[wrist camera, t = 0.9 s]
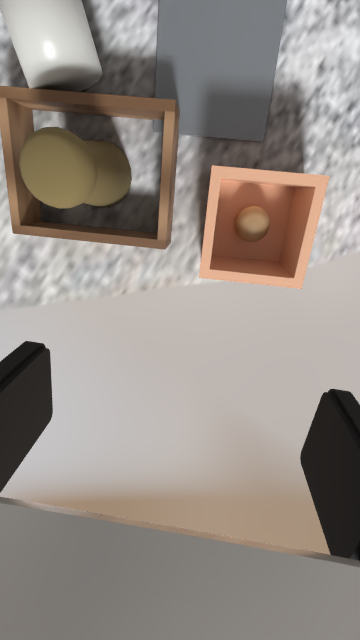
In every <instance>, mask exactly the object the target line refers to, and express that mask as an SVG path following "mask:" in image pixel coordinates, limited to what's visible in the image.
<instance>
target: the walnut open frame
mask: <svg viewBox="0 0 360 640" xmlns="http://www.w3.org/2000/svg"><path fill="white" fill-rule="evenodd" d="M32 110H44V111H56V112H68V113H80V114H92V115H104V116H115V117H127V118H139V119H151V120H154V119H161V120H164V133H163V150H162V168H161V185H160V202H159V220H158V233H149V232H140V231H130V230H120V229H110V228H101V227H91V226H81V225H72V224H62V223H52V222H42V221H41V211H40V200H39V199H37V198H36V197H35V196H34V195H33V194H32V193H31V192H30V190H29V189H28V188H27V186H26V184H25V182H24V180H23V178H22V175H21V170H20V165H19V161H20V151H21V149H22V146H23V144H24V141H25V140H26V139H27V138H28V137H29V136H30V135H31V133H33V132H34V126H33V114H32ZM179 116H180V110H179V107H178V105H177V102H176V100H170V99H158V98H146V97H133V96H121V95H108V94H96V93H84V92H71V91H59V90H46V89H34V88H31V89H29V88H22V87H9V86H0V129H1V137H2V146H3V154H4V163H5V171H6V180H7V188H8V196H9V205H10V213H11V222H12V230H13V233H14V234H24V235H33V236H43V237H52V238H62V239H71V240H81V241H90V242H100V243H109V244H119V245H128V246H138V247H147V248H157V249H166V248H167V247H168V245H169V244H170V243H171V230H172V217H173V203H174V190H175V176H176V163H177V149H178V136H179V134H178V129H179Z"/></svg>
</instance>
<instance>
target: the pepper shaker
mask: <svg viewBox="0 0 360 640" xmlns="http://www.w3.org/2000/svg"><path fill="white" fill-rule="evenodd" d="M19 165H20V170H21V175H22V178H23V180H24V182H25V184H26V186H27V188H28V189H29V190H30V192H31V193H32V194H33V195H34V196H35V197H36V198H37V199H39V200H40V201H42V202H43V203H45V204H47V205H49V206H53V207H56V208H73V207H75V206H78V205H80V204H82V203H85V204H89V205H93V206H97V207H111V206H114V205H116V204H118V203H119V202H121V201H122V200H123V199H124V198H125V196H126V195H127V193H128V191H129V189H130V185H131V180H132V178H131V168H130V165H129V162H128V160H127V158H126V156H125V155H124V154H123V152H122V151H121V150H120V149H119V148H118V147H116V146H115V145H114V144H112V143H110V142H107V141H104V140H82V139H81V138H79V137H78V136H76V135H75V134H74V133H72V132H70V131H68V130H65V129H62V128H59V127H45V128H41V129H39V130H37V131H35V132H33V133H31V135H30V136H29V137H28V138H27V139H26V140H25V141H24V144H23V146H22V149H21V151H20V161H19Z"/></svg>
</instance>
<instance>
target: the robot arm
mask: <svg viewBox="0 0 360 640" xmlns="http://www.w3.org/2000/svg"><path fill="white" fill-rule="evenodd" d="M52 410H53V409H52V387H51V364H50V351H49V349H47V348H46V347H45V345H44V344H43V343H36V342H29V341H25V342H24V343H23V344H21V345H20V346H19V347H18V348H16V349H15V350H14V351H13V352H12V353H10V354H9V355H8V356H7V357H5V358H4V359H3V360H2V361H1V362H0V492H1V491H2V490H3V488H4V487H5V485H6V484H7V482H8V481H9V479H10V478H11V477H12V475H13V474H14V472H15V471H16V469H17V468H18V467H19V465H20V464H21V462H22V461H23V459H24V458H25V456H26V455H27V454H28V452H29V451H30V449H31V448H32V446H33V445H34V443H35V442H36V441H37V439H38V438H39V436H40V435H41V433H42V432H43V431H44V429H45V428H46V426H47V425H48V423H49V422H50V420H51V417H52ZM301 465H302V468H303V471H304V474H305V477H306V480H307V483H308V486H309V489H310V492H311V496H312V499H313V502H314V505H315V508H316V511H317V514H318V517H319V520H320V523H321V526H322V529H323V532H324V535H325V538H326V542H327V545H328V548H329V551H330V554H331V555H328V554H322V553H318V552H313V551H307V550H301V549H296V548H291V547H285V546H280V545H273V544H269V543H263V542H257V541H252V540H247V539H241V538H236V537H230V536H225V535H219V534H214V533H208V532H202V531H196V530H191V529H185V528H179V527H174V526H168V525H163V524H157V523H151V522H145V521H139V520H134V519H128V518H123V517H117V516H111V515H105V514H99V513H94V512H88V511H82V510H76V509H70V508H63V507H58V506H52V505H46V504H40V503H34V502H29V501H23V500H17V499H9V498H4V497H0V640H360V405H359V403H358V402H357V400H356V399H355V397H354V396H353V395H352V394H351V392H349V391H343V390H336V389H330V390H329V391H328V392H325V393H323V395H322V397H321V400H320V403H319V405H318V408H317V411H316V413H315V417H314V419H313V421H312V424H311V427H310V430H309V432H308V435H307V438H306V441H305V443H304V446H303V449H302V451H301Z"/></svg>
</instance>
